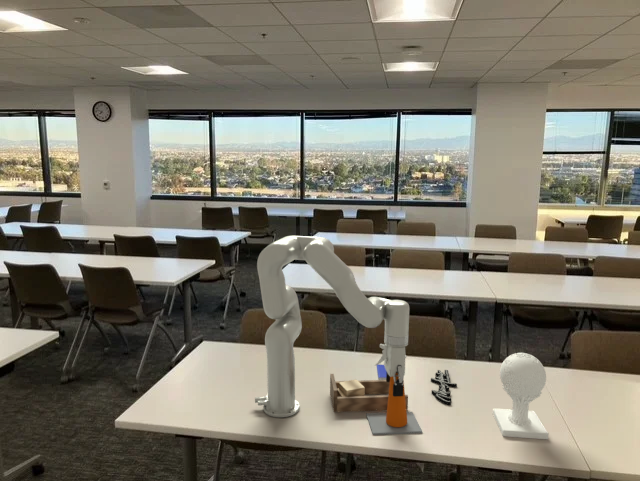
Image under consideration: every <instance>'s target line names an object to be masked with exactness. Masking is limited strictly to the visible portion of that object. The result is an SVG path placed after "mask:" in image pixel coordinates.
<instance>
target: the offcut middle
mask: <svg viewBox="0 0 640 481" xmlns="http://www.w3.org/2000/svg"><path fill="white" fill-rule="evenodd" d="M337 396H338V397H346V396H345V395H344V394H343V393H342V392H341V391H340V390H339V388H338V389H337ZM357 396H366V394H362V395H357Z"/></svg>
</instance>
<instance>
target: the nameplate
mask: <svg viewBox="0 0 640 481" xmlns="http://www.w3.org/2000/svg"><path fill="white" fill-rule="evenodd" d="M434 375H435V378H434V377H431V378H430V382H432V383H434V384H436V385H438V390H433V389H432V390H431V395H432V396H434V398H435V399H436V400H437V401H439V402H440V403H441V404H444V405H446V406H451V405H452V397H451V395H452V394H451V391H450V388H457V387H458V384H457V383H455V382H453V383H452V382H451V376H450V374H449V370H448V369H444V372H442V371H441V370H440V369H437V372H435V374H434Z"/></svg>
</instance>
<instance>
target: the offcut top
mask: <svg viewBox="0 0 640 481" xmlns="http://www.w3.org/2000/svg"><path fill="white" fill-rule="evenodd" d="M343 381H344V382H339V390H340V391H341V392H342V393H343V394H344V395H345V396H346V397H348V396H357V395H362V394H364V395H366V394H365V387H364V386H363V385H362V384H361V383H360V382H359V381H360V380H358V379H356V378H355V379H351V380H343Z"/></svg>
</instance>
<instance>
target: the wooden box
mask: <svg viewBox="0 0 640 481" xmlns="http://www.w3.org/2000/svg"><path fill="white" fill-rule="evenodd" d="M329 378H330V379H329V389H330V390H329V395H330V401H331V406H332V410H333V413H346V412H377V411H381V412H382V411H387V405H388V395H389V385H390V382H387V381H386V380H379V379H369V380H366V379H365V380H358V381H359V382H360V383H361V384H362V385H363V386H364V387H365V394H364V395H365V396H348V397H337V389H338V388H339V382H344V381H345V380H336V378H335V374H334V373H329ZM405 401H406V411H408V408H409V407H408V406H409V395H408V394H405Z"/></svg>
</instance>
